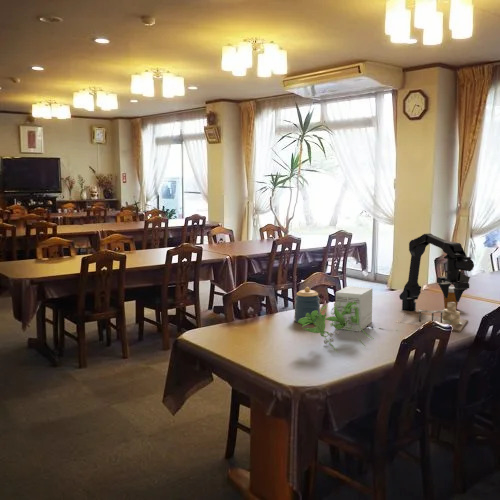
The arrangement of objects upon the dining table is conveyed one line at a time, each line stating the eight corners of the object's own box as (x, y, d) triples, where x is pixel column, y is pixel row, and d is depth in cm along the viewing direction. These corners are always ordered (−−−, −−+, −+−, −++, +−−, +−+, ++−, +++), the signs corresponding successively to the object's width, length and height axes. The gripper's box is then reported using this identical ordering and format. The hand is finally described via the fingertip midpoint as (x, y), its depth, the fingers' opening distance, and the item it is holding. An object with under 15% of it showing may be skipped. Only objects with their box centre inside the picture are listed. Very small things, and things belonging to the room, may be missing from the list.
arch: (452, 323, 262) (453, 304, 261) (442, 319, 270) (443, 301, 269) (459, 323, 263) (460, 304, 262) (449, 319, 271) (450, 300, 270)
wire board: (395, 324, 266) (396, 310, 266) (407, 314, 285) (407, 302, 284) (460, 332, 251) (460, 317, 250) (467, 321, 270) (468, 308, 269)
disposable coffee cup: (462, 310, 294) (463, 288, 293) (444, 310, 294) (445, 288, 293) (456, 306, 303) (456, 285, 302) (439, 306, 304) (439, 285, 302)
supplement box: (347, 320, 275) (347, 285, 273) (372, 323, 268) (373, 288, 266) (334, 328, 260) (334, 291, 258) (360, 332, 253) (361, 294, 251)
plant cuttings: (368, 355, 240) (338, 318, 252) (389, 330, 231) (356, 293, 242) (316, 374, 217) (284, 332, 229) (336, 347, 208) (302, 305, 219)
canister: (290, 322, 272) (290, 288, 270) (300, 316, 283) (300, 283, 281) (314, 325, 266) (314, 290, 264) (323, 319, 277) (323, 285, 275)
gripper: (479, 270, 257) (478, 302, 258) (455, 265, 275) (454, 295, 276) (459, 271, 254) (458, 304, 256) (436, 266, 272) (435, 296, 274)
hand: (451, 299), depth 265 cm, fingers open, 9 cm apart
